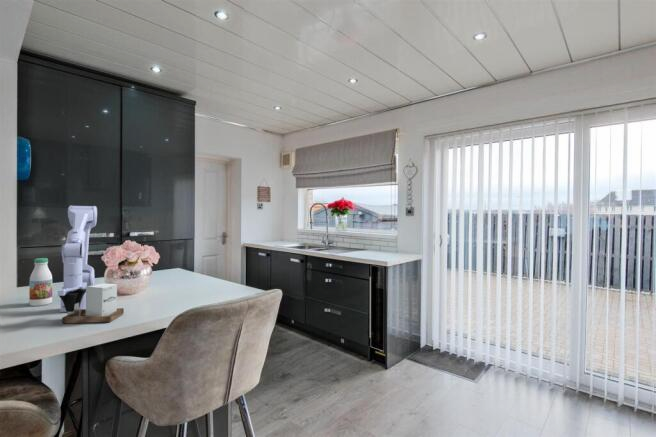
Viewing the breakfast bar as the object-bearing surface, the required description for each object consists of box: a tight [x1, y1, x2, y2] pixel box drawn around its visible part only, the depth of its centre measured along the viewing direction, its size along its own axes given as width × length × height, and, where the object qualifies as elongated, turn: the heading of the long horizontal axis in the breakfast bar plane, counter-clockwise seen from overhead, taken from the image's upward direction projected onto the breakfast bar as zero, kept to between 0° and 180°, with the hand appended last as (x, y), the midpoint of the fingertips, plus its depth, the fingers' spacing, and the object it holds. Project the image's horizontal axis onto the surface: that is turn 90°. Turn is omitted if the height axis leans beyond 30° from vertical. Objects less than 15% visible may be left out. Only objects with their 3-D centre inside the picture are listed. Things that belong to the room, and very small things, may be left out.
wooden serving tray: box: [61, 303, 125, 324], centre depth 130 cm, size 17×11×6 cm, turn 98°
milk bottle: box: [28, 257, 53, 307], centre depth 149 cm, size 8×8×20 cm
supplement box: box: [85, 283, 118, 316], centre depth 130 cm, size 7×7×13 cm
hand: (72, 310), depth 129 cm, fingers closed on wooden serving tray, 3 cm apart
